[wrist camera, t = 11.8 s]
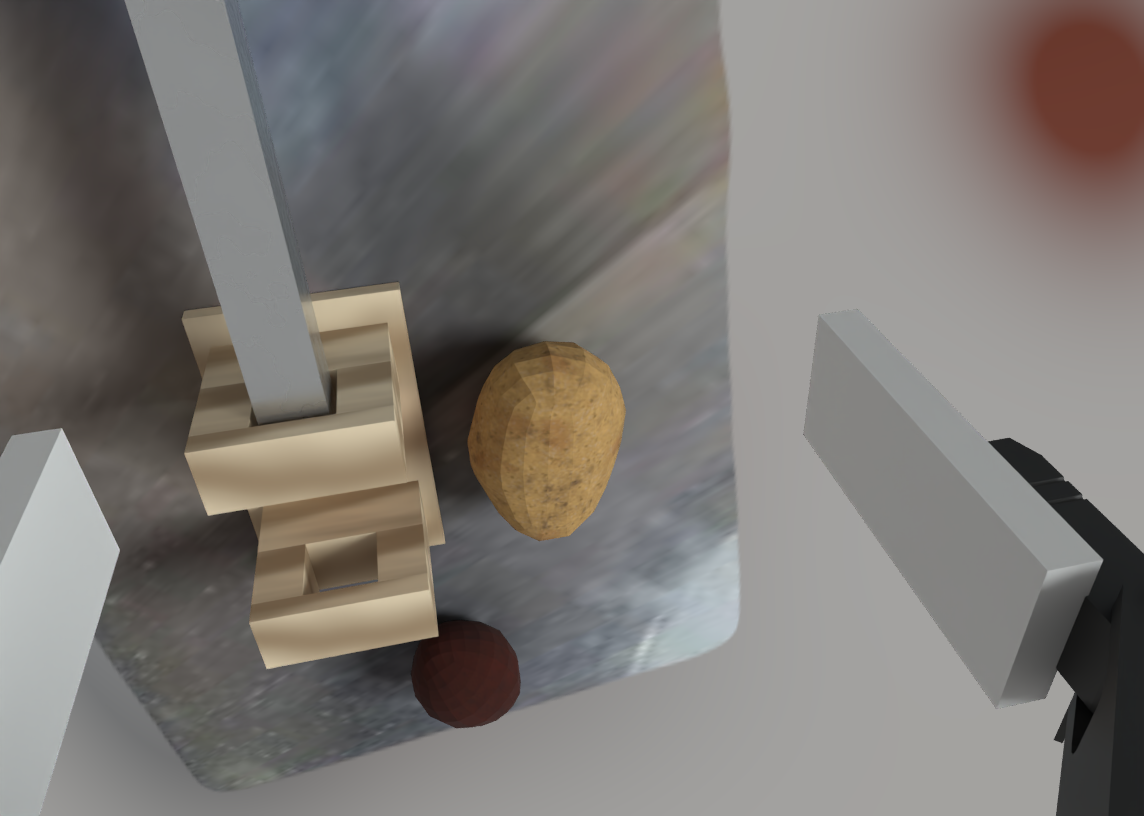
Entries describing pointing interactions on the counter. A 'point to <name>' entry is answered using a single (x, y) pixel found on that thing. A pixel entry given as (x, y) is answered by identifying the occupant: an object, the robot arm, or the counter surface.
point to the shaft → (236, 199)
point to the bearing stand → (326, 484)
